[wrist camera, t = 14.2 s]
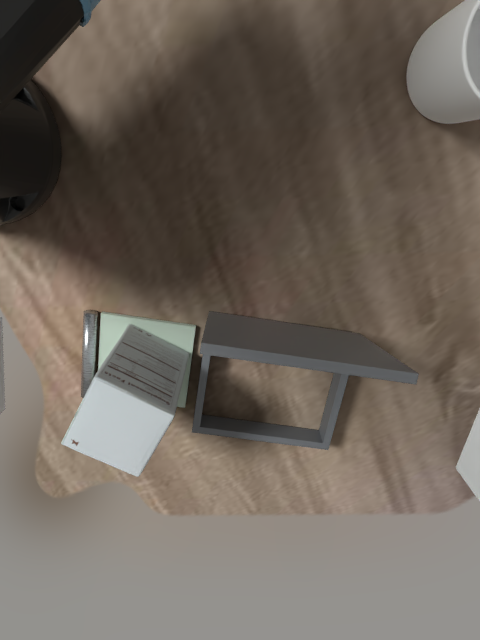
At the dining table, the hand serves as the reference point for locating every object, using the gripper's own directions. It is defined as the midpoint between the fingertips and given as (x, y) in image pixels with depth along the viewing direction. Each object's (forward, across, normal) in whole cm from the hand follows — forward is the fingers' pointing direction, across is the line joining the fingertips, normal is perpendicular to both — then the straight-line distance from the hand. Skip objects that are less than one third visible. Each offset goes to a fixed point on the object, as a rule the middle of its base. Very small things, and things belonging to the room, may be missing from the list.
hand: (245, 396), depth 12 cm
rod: (+33, -14, -16) cm, 39 cm away
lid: (+23, +6, -8) cm, 26 cm away
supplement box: (+32, -8, -16) cm, 37 cm away
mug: (+33, +18, +17) cm, 41 cm away
